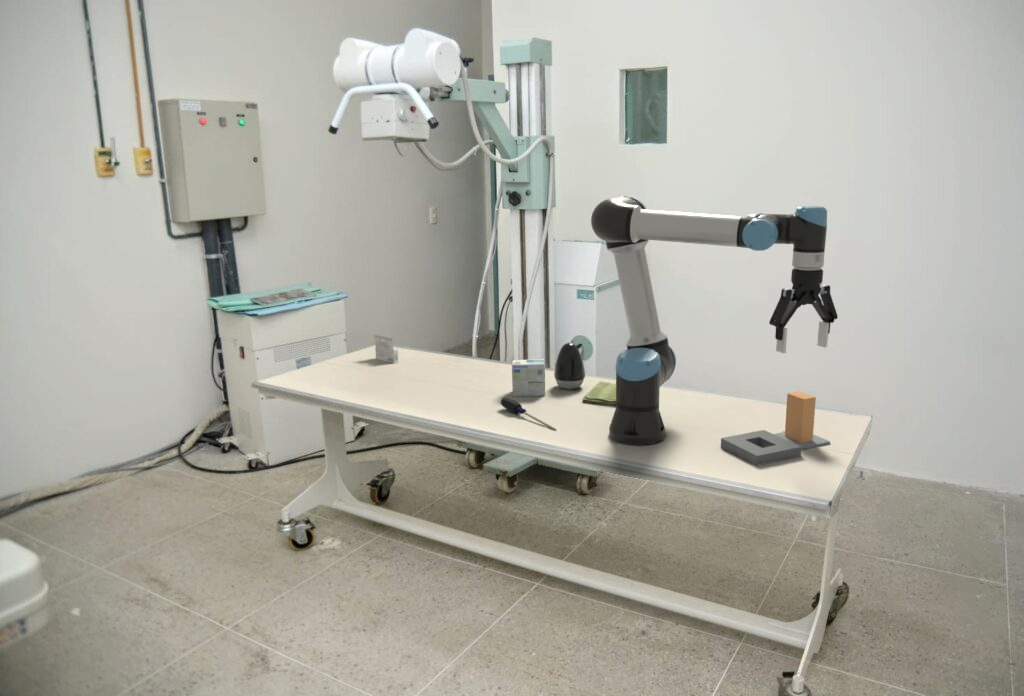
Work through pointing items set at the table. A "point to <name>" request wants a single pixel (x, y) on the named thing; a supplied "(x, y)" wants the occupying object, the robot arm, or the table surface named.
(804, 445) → the rubber mat
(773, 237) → the robot arm
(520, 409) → the screwdriver
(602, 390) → the washcloth
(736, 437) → the gray slotted square plate
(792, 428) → the plug
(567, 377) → the pump dispenser
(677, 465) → the table surface
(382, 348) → the ink cartridge box
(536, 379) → the light bulb box
